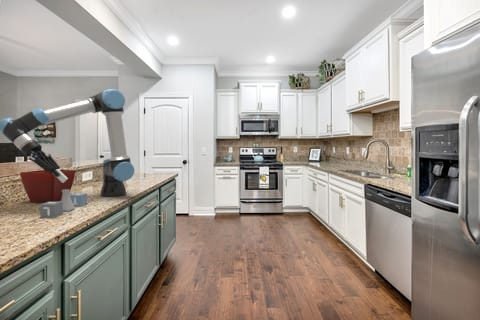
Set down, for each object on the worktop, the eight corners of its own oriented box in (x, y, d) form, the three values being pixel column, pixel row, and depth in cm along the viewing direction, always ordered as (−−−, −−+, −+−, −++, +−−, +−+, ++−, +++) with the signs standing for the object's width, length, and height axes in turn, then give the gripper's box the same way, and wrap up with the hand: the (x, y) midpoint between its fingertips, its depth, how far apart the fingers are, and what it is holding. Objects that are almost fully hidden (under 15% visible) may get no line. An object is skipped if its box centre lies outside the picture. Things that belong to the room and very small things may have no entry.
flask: (78, 208, 135) (78, 189, 134) (68, 212, 127) (67, 191, 127) (64, 208, 135) (64, 188, 135) (53, 211, 128) (53, 191, 127)
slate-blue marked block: (75, 204, 145) (75, 193, 145) (87, 204, 145) (87, 193, 145) (69, 206, 139) (68, 195, 139) (81, 206, 139) (80, 195, 139)
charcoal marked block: (49, 214, 123) (49, 201, 123) (62, 214, 123) (62, 201, 123) (40, 218, 117) (39, 204, 117) (54, 218, 117) (54, 204, 117)
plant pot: (46, 196, 164) (45, 169, 164) (76, 197, 164) (76, 169, 163) (19, 203, 145) (18, 172, 145) (53, 204, 145) (53, 172, 144)
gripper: (32, 150, 135) (67, 184, 137) (12, 151, 122) (51, 188, 124) (43, 140, 135) (78, 173, 137) (24, 139, 122) (62, 176, 124)
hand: (65, 180), depth 131 cm, fingers closed
